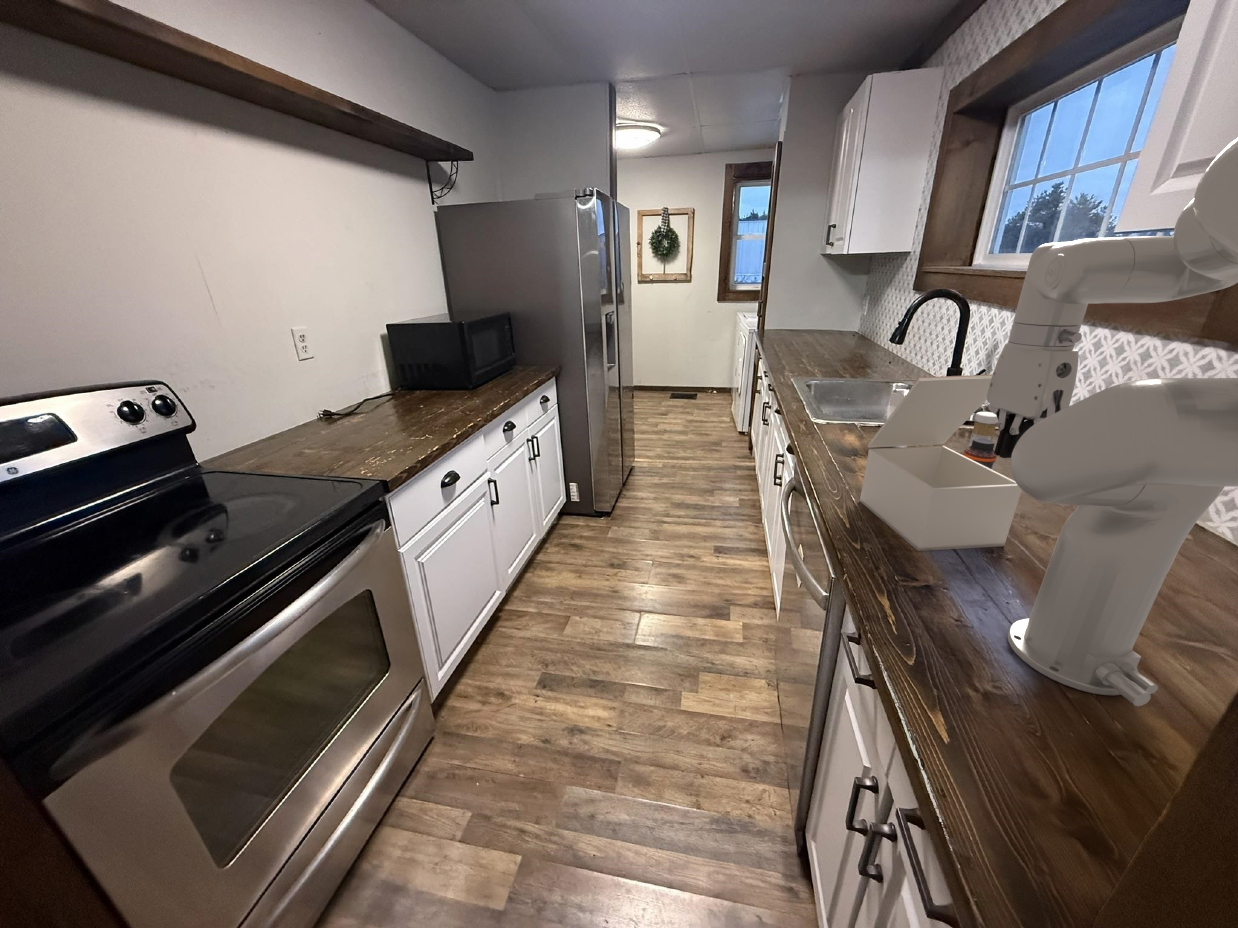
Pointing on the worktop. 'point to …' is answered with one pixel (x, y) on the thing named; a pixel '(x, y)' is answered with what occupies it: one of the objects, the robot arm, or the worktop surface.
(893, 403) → the beer glass
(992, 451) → the supplement bottle
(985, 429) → the sprinkles bottle
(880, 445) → the lid flap
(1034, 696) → the worktop surface
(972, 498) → the carton
